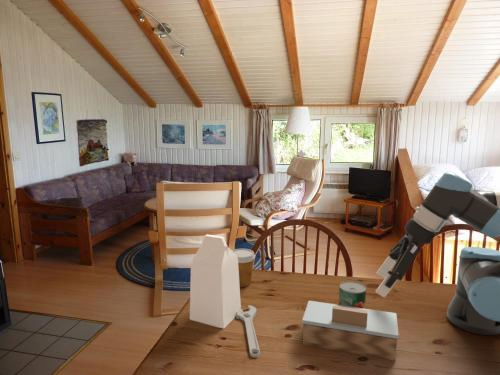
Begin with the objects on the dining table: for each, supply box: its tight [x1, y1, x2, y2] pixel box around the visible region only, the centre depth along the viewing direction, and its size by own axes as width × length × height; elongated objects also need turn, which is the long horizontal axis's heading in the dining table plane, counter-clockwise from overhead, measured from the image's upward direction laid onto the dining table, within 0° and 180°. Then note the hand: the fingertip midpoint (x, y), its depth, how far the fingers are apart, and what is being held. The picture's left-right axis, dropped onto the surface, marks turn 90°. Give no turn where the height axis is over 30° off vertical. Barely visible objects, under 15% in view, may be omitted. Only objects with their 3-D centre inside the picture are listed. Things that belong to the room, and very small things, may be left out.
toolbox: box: [302, 323, 398, 361], centre depth 108 cm, size 24×11×6 cm, turn 73°
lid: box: [301, 300, 400, 340], centre depth 106 cm, size 25×11×5 cm, turn 73°
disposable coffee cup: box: [232, 248, 256, 288], centre depth 143 cm, size 10×10×12 cm
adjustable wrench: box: [236, 305, 261, 359], centre depth 113 cm, size 25×6×2 cm, turn 2°
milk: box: [189, 234, 242, 329], centre depth 119 cm, size 12×12×26 cm
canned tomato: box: [338, 280, 367, 309], centre depth 118 cm, size 8×8×11 cm
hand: (380, 284), depth 111 cm, fingers open, 13 cm apart
